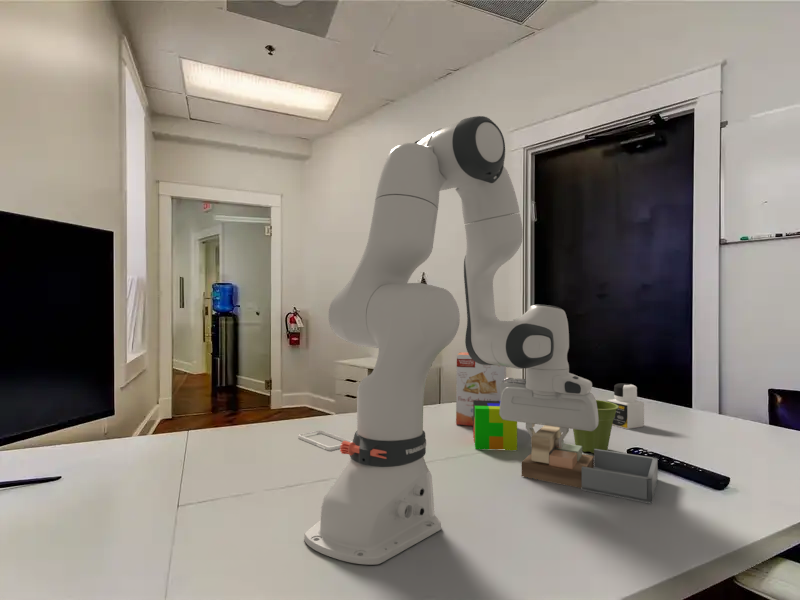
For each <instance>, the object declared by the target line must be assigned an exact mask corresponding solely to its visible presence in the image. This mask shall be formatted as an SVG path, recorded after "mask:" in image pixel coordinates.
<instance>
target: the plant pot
mask: <svg viewBox="0 0 800 600" xmlns="http://www.w3.org/2000/svg"><path fill="white" fill-rule="evenodd" d="M596 403H597V408H598V426H597V428H596V429H595V430H593V431H585V430H577V429H572V430H573V438H574V445H579V446H582V453H584V452H585V453H588V452H590V453H591V454H594V449H600V450H607V451H608V450H609V443H610V439H611V433H612V430H613V429H612V427H613V425H612V423H613V418H614V417H615V413H616V409H618V408H619V406H618V405H616V404H614V403H611V402H607V401H605V400H600V399H596Z"/></svg>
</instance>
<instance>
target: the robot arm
mask: <svg viewBox="0 0 800 600" xmlns="http://www.w3.org/2000/svg"><path fill="white" fill-rule="evenodd" d="M505 158H506V142H505V138H504V135H503V133H502V131H501V129H500V128H499V126H498V125H497V124H496V123H495V122H494V121H493V120H492V119H490V117H488V116H484V115H483V116H482V115H476V116H470V117H466V118H464V119H461V120H460V121H459V122H456V123H452V124H450V125H447V126H444V127H443V128H438V129H436V130H434V131H432V132H431V133H429V134H427V135H426V136H424V137H423V138H422V139H419V140H416V141H414V142H406V143H400V144H399V145H397V146H395V147H393V148H392V149H391V150H390V152H388V155H387V157H386V158H385V162H384V164H383V167H382V171H381V173H380V177H379V181H378V185H377V189H376V193H375V194H376V195H375V199H374V200H375V201H374V206H373V212H372V218H371V224H370V228H369V234H368V239H367V242H366V245H365V249H364V252H363V254H362V256H361V257H360V258H361V259H360V261H359V263H358V265H357V267H356V269H355V270H354V272H353V274H352V276H351V278H350V280H349V281H348V283H347V284H346V285H345V286H344V287H343V288H342V289H341V290H339V292H338V293H336V295H335V296H334V297H333V298H332V300H331V302H330V304H329V309H328V323H329V325H330V328H331V330H332V332H333V334H334V335H335V336H336V337H338V338H339V339H340V340H343V341H346V342H347V343H350V344H352V345H355V346H357V347H365V348H374V349H378V353H377V360H376V362H375V365H374V366H373V367H374V368H373V370H372V372H371V373H369V374H368V375H367V376H365V377H364V378H363V379H361V381H360V382H359V384H358V386H357V391H356V393H357V394H356V397H357V399H356V406H357V407H356V431H355V432H354V434H353V435H354V436H353V439H352V442H351V443H350V442H348V441H341V443H340V444H342V445H340V444H339V445H340V447H341V448H339V452H341V454H342V455H349V457H350V458H349V461H348V462H347V463H346V465H345V466H344V468H343V469H342V470H341V472H340V473H339V475H338V477H337V478H336V479H335V481H334V482H333V484H332V485H331V486H330V488H329V489H328V491H327V492H326V494H325V495H324V497H323V499H322V504H321V511H320V519H319V520H318V521H317V522H315V524H314V525H312V526H311V527H310V528H309V529H307V530H306V531H305V533H304V537H303V538H304V539H303V540H304V541H305V544H307V546H308V547H310V548H311V549H313V550H314V551H316V552H318V553H320V554H322V555H325V556H327V557H330V558H333V559H335V560H336V559H337V560H339V561H343V562H347V563H351V564H358V565H380V564H382V563H384V562H386V561H387V560H390V559H391V558H393V557H395V556H396V555H398V554H400V553H402V552H403V551H406V550H407V549H409V548H411V547H413V546H414V545H415V544H418V543H420V542H421V541H423V540H425V539H426V538H428V537H430V536H432V535H434V534H436V533H437V532H439V531H440V530H442V522H441V520H440V519H439V517H437V516H436V513H435V511H436V510H435V502H434V500H435V499H434V487H433V476H432V473H431V471H430V470H429V468H428V466H427V464H426V461H425V455H426V454H427V453H426V452H427V449H426V446H427V439H426V432H425V430H424V401H425V400H424V398H425V387H426V381H427V378H428V376H429V372H430V371H431V367H432V365H433V364H434V361H435V360H436V358H437V357H438V355H439V354H440V353H441V352H442V351H443V350H444V349H445V348H447V346H450V344H451V343H452V341H454V339H455V337H456V335H457V334H458V330H459V328H460V317H461V315H460V308H459V306H458V303H457V301H456V299H455V297H454V296H453V294H452V293H451V291H449V290H448V289H446V288H443V287H439V286H436V285H431V284H427V283H422V282H409V280H410V278H411V277H412V275H413V274H414V272H415V271H416V270H417V268H419V267H420V266H421V265H422V264H423V263H425V262H426V261H427V260H428V259H429V258H430V255H431V254H432V252H433V248H434V242H435V241H434V240H435V233H436V227H437V220H438V219H437V218H438V210H439V203H440V191H447V190H450V189H455V191H456V192H457V194H458V195H459V198H460V199H461V209H462V210H461V211H462V217H463V223H464V228H465V229H464V230H465V236H466V237H465V238H466V252H465V256H464V260H463V277H464V278H463V281H464V294H465V303H466V306H465V307H466V317H467V319H466V323H467V324H466V332H465V340H464V342H465V349H466V353H468V354H469V356H470V357H471V358H472V359H473V360H474V361H475V362H477V363H479V364H482V365H497V366H503V367H506V368H512V369H518V370H520V369H521V370H523V369H524V370H525V378H513V377H506V379H505V380H503V381H502V382H501V384H500V393H501V395H502V396H501V402H500V416H501V418H502V419H503V420H509V421H517V423H518V422H519V423H525V429H526V431H527V433H528V434H529V436H530V444H531V445H532V435H534V434H535V433H536V431H535V429H534V427H535V426H536V425H541V426H544V425H547V426H554V427H560V432H561V437H560V438H556V439H555V440H554V443H555V445H554V447H555V448H561V449H562V448H563V443H564V439H565V438H566V436H568V433H569V432H570V429H572V430H573V429H577V430H585V431H593V430H595V429H596V428H597V426H598V408H597V403H596V400H597V399H596V397H595V396H594V394H593V393H592V392H591V391H592V389H593V382H592V381H591V380H589V379H587V378H584V377H582V376H578V375H576V374H574V373H571V372H570V364H569V362H568V353H569V349H570V333H569V332H570V331H569V321H568V318H567V314H566V311H565V310H564V309H562V308H561V307H559V306H555V305H550V304H548V305H547V304H539V303H537V304H532V305H530V306H529V307H528V310H527V311H526V312H524V313H523V314H522V315H520V316H518V317H517V318H514V319H513V320H500V319H499V318H498V317H497V315H496V312H495V311H496V310H495V297H494V296H495V295H494V294H495V293H494V279H495V275H496V274H497V272H498V270H499V269H500V268H501V267H502V266H503V265H504V264H506V263H507V262H509V261H510V260H511V259H512V258H513V257H514V256H515V255H516V254H517V253H518V251H519V249H520V247H521V246H522V243H523V232H524V231H523V230H524V229H523V222H522V218H521V217H522V216H521V213H520V207H519V202H518V199H517V195H516V192H515V188H514V185H513V182H512V179H511V176H510V174H509V171H508V170H507V168H506V167H505ZM505 381H506V382H505Z"/></svg>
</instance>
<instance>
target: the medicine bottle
mask: <svg viewBox="0 0 800 600" xmlns="http://www.w3.org/2000/svg"><path fill="white" fill-rule="evenodd" d="M613 387H614V388H613V397H614V398H613V399H607V402H611V403H614V404H616V405H618V406H619V408H618V409H616V413H615V417H614V418H613V423H612V426H615V427H619V428H622V429H625V430H631V429H636V428H643V427H645V403H644V401H639V400H637V399H638V387H637V386H636V385H634V384H632V383H624V382H623V383H621V382H620V383H616V384H614V386H613Z"/></svg>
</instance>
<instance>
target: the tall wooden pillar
mask: <svg viewBox="0 0 800 600" xmlns="http://www.w3.org/2000/svg"><path fill="white" fill-rule="evenodd" d="M561 435H562V432H560V427H554V426H547V425H542V427H540V428H539V429H538V430H537V431H535V434H534V435H532V444H531V453H532V461H537V462H543V463H548V464H549V455H550V454H551V453H552V452H553V451H554V450H556V448H555V447H554V445H555V443H554V440H555V439H556V438H560V437H561Z"/></svg>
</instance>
